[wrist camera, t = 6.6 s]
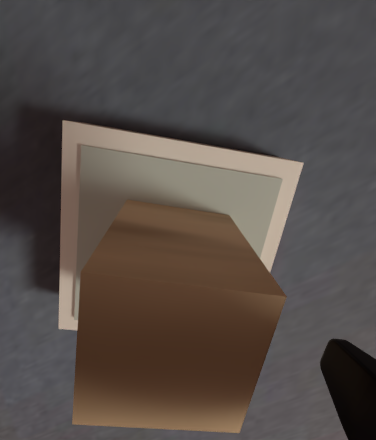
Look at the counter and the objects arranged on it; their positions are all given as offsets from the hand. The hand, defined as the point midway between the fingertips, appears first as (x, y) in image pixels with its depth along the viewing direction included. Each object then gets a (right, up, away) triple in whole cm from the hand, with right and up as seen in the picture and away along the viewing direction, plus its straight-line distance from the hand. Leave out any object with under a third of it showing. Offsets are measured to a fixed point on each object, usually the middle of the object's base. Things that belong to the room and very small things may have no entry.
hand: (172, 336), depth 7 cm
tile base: (0, +2, +8) cm, 8 cm away
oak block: (0, +2, +5) cm, 5 cm away
